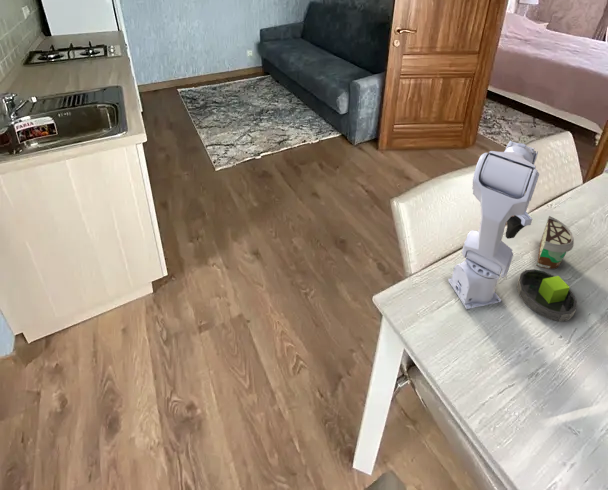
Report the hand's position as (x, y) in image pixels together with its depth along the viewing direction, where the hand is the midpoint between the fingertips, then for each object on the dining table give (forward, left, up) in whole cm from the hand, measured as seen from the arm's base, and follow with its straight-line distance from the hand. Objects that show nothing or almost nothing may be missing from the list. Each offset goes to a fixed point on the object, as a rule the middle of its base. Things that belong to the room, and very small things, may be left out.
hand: (499, 226), depth 94 cm
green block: (+5, -15, -9) cm, 18 cm away
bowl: (+3, -15, -9) cm, 18 cm away
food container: (+14, -6, -10) cm, 18 cm away
